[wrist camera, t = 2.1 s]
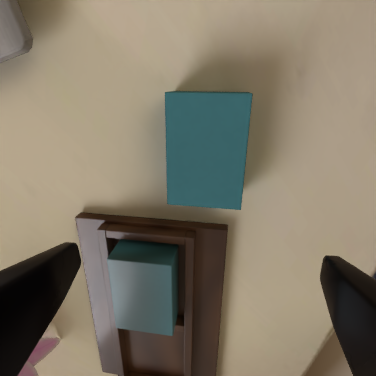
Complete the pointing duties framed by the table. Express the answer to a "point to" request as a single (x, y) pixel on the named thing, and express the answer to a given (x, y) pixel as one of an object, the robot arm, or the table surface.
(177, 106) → the pad
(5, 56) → the light switch
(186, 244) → the brown two-compartment tray
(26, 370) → the lily
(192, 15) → the table surface
